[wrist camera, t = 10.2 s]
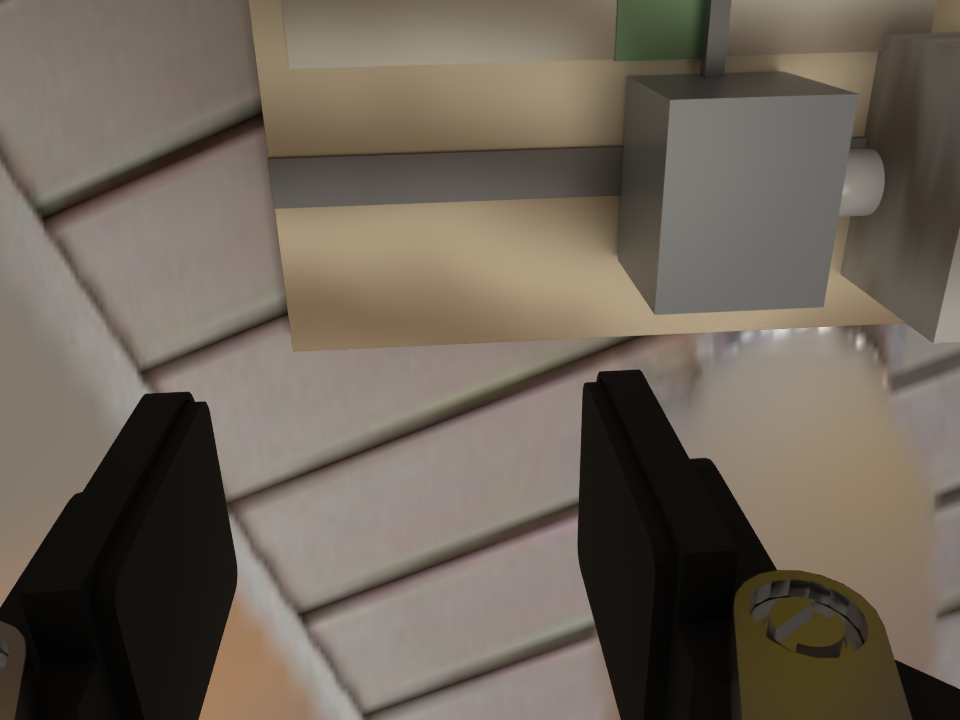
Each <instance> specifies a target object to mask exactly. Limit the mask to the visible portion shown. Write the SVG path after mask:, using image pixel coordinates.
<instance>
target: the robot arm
mask: <svg viewBox="0 0 960 720" xmlns="http://www.w3.org/2000/svg"><path fill="white" fill-rule="evenodd" d="M578 558H579V565H580V569H581V573H582V577H583V581H584V584H585V588H586V592H587V596H588V599H589V603H590V607H591V610H592V614H593V618H594V622H595V625H596V629H597V633H598V636H599V640H600V644H601V648H602V651H603V655H604V659H605V662H606V666H607V670H608V674H609V677H610V681H611V685H612V688H613V692H614V696H615V700H616V703H617V707H618V711H619V714H620V718H621V720H960V689H958V688H956V687H954V686H952V685H949V684H947V683H945V682H943V681H941V680H938V679H936V678H934V677H932V676H930V675H928V674H925V673H923V672H921V671H919V670H916V669H914V668H912V667H910V666H908V665H906V664H903V663H901V662H899V661H897V660H895V659H894V656H893V653H892V650H891V646H890V643H889V640H888V637H887V633H886V630H885V626H884V624H883V623H882V621H881V619H880V617H879V615H878V613H877V611H876V610H875V609H874V608H873V607H872V606H871V605H870V604H869V603H868V602H867V601H866V600H865V599H864V598H863V597H862V596H861V595H860V594H858V593H857V592H855V591H853V590H852V589H850V588H849V587H847V586H845V585H844V584H842V583H840V582H837V581H835V580H832V579H830V578H827V577H825V576H822V575H818V574H813V573H809V572H804V571H796V570H777V569H776V567H775V566H774V564H773V562H772V561H771V559H770V557H769V556H768V554H767V552H766V550H765V549H764V547H763V545H762V544H761V542H760V540H759V539H758V537H757V535H756V534H755V532H754V530H753V528H752V527H751V525H750V523H749V522H748V520H747V518H746V517H745V515H744V513H743V512H742V510H741V508H740V507H739V505H738V503H737V501H736V500H735V498H734V496H733V495H732V493H731V491H730V490H729V488H728V486H727V485H726V483H725V481H724V480H723V478H722V476H721V474H720V473H719V471H718V470H717V468H716V466H715V465H714V463H713V462H712V461H711V460H710V459H707V458H696V459H689V457H688V455H687V454H686V452H685V450H684V448H683V446H682V444H681V443H680V441H679V439H678V437H677V435H676V433H675V432H674V430H673V428H672V426H671V424H670V422H669V421H668V419H667V417H666V415H665V413H664V412H663V410H662V408H661V406H660V404H659V402H658V401H657V399H656V397H655V395H654V393H653V391H652V390H651V388H650V386H649V384H648V382H647V380H646V379H645V377H644V375H643V373H642V372H641V371H640V370H622V371H602V372H599V373H598V376H597V382H588V383H585V384H584V387H583V399H582V428H581V457H580V486H579V515H578ZM236 585H237V562H236V556H235V550H234V544H233V539H232V533H231V528H230V522H229V516H228V511H227V505H226V500H225V494H224V488H223V483H222V477H221V472H220V466H219V461H218V455H217V449H216V444H215V438H214V433H213V427H212V421H211V416H210V411H209V407H208V405H207V403H206V402H195V401H194V398H193V396H192V394H191V393H190V392H173V393H152V394H145V395H144V396H143V397H142V398H141V400H140V401H139V403H138V405H137V406H136V408H135V409H134V411H133V413H132V414H131V416H130V417H129V419H128V420H127V422H126V424H125V425H124V427H123V428H122V430H121V432H120V433H119V435H118V436H117V438H116V440H115V441H114V443H113V444H112V446H111V447H110V449H109V451H108V452H107V454H106V455H105V457H104V459H103V460H102V462H101V463H100V465H99V467H98V468H97V470H96V472H95V473H94V475H93V476H92V478H91V479H90V481H89V483H88V484H87V486H86V487H85V489H84V490H83V492H80V493H77V494H75V495H74V496H73V497H72V498H71V499H70V500H69V502H68V503H67V505H66V506H65V508H64V510H63V511H62V513H61V514H60V516H59V517H58V519H57V520H56V522H55V523H54V525H53V527H52V528H51V530H50V531H49V533H48V534H47V536H46V537H45V539H44V540H43V542H42V544H41V545H40V547H39V548H38V550H37V552H36V553H35V555H34V556H33V558H32V559H31V561H30V562H29V564H28V566H27V567H26V568H25V570H24V572H23V573H22V575H21V576H20V578H19V579H18V581H17V582H16V584H15V586H14V587H13V589H12V590H11V592H10V593H9V595H8V597H7V598H6V600H5V601H4V603H3V604H2V606H1V607H0V720H198V719H199V716H200V712H201V709H202V705H203V702H204V699H205V695H206V692H207V688H208V685H209V681H210V677H211V674H212V671H213V667H214V664H215V660H216V656H217V653H218V650H219V646H220V643H221V639H222V635H223V632H224V629H225V625H226V622H227V619H228V615H229V612H230V608H231V605H232V601H233V598H234V594H235V590H236Z"/></svg>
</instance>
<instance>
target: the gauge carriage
mask: <svg viewBox="0 0 960 720" xmlns="http://www.w3.org/2000/svg"><path fill="white" fill-rule="evenodd" d="M730 11H731V0H706V8H705V19H704V31H703V43H702V54H701V66H700V74H682V75H649V76H627V84H626V104H625V123H624V143H623V163H622V183H621V203H620V222H619V242H618V261H619V263H620V264H621V266H622V267H623V269H624V270H625V272H626V273H627V275H628V276H629V278H630V279H631V281H632V282H633V284H634V285H635V286H636V288H637V289H638V291H639V292H640V294H641V295H642V297H643V298H644V300H645V301H646V303H647V304H648V306H649V307H650V309H651V310H652V312H653V313H654V315H665V314H687V313H709V312H731V311H753V310H775V309H797V308H819V307H824V303H825V296H826V290H827V284H828V278H829V272H830V266H831V260H832V254H833V247H834V241H835V235H836V229H837V223H838V217H846V216H868V215H870V214H872V213H873V212H874V211H875V210H876V209H877V207H878V205H879V203H880V201H881V198H882V195H883V191H884V183H885V174H884V167H883V163H882V160H881V157H880V156H879V154H878V153H877V152H876V151H875V150H873V149H850V143H851V137H852V131H853V125H854V119H855V113H856V107H857V100H858V94H857V93H854V92H851V91H847V90H844V89H841V88H837V87H834V86H831V85H827V84H824V83H821V82H818V81H814V80H811V79H808V78H804V77H801V76H798V75H794V74H791V73H788V72H784V71H780V72H747V73H724V72H725V62H726V52H727V41H728V31H729V21H730Z"/></svg>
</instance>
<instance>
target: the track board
mask: <svg viewBox="0 0 960 720" xmlns="http://www.w3.org/2000/svg"><path fill="white" fill-rule="evenodd" d="M249 8H250V16H251V24H252V32H253V40H254V47H255V55H256V63H257V71H258V79H259V87H260V95H261V103H262V111H263V119H264V126H265V134H266V142H267V150H268V167H269V175H270V183H271V191H272V199H273V206H274V209H275V213H276V221H277V229H278V237H279V245H280V253H281V261H282V268H283V276H284V284H285V292H286V300H287V308H288V316H289V324H290V332H291V340H292V347H293V352H296V351H318V350H339V349H360V348H382V347H403V346H424V345H446V344H467V343H488V342H510V341H531V340H552V339H574V338H595V337H616V336H638V335H659V334H680V333H702V332H723V331H744V330H766V329H787V328H808V327H830V326H851V325H872V324H894V323H907V324H908V325H909V326H911V327H912V328H913V329H915V330H916V331H918V332H919V333H920V334H922V335H923V336H924V337H926V338H927V339H928V340H930V341H931V342H932V343H950V342H960V0H731V11H730V21H729V31H728V41H727V52H726V62H725V72H724V73H747V72H780V71H784V72H788V73H791V74H794V75H798V76H801V77H804V78H808V79H811V80H814V81H818V82H821V83H824V84H827V85H831V86H834V87H837V88H841V89H844V90H847V91H851V92H854V93H857V94H858V100H857V107H856V113H855V119H854V125H853V131H852V137H851V143H850V149H873V150H875V151H876V152H877V153H878V154H879V156H880V157H881V160H882V163H883V167H884V174H885V183H884V191H883V195H882V198H881V201H880V203H879V205H878V207H877V209H876V210H875V211H874V212H873V213H872V214H870V215H868V216H846V217H838V223H837V229H836V235H835V241H834V247H833V254H832V260H831V266H830V272H829V278H828V284H827V290H826V296H825V303H824V307H819V308H797V309H775V310H753V311H731V312H709V313H687V314H665V315H654V313H653V312H652V310H651V309H650V307H649V306H648V304H647V303H646V301H645V300H644V298H643V297H642V295H641V294H640V292H639V291H638V289H637V288H636V286H635V285H634V284H633V282H632V281H631V279H630V278H629V276H628V275H627V273H626V272H625V270H624V269H623V267H622V266H621V264H620V263H619V261H618V242H619V222H620V203H621V183H622V163H623V143H624V123H625V104H626V84H627V76H649V75H682V74H700V66H701V54H702V43H703V31H704V19H705V8H706V0H249Z"/></svg>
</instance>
